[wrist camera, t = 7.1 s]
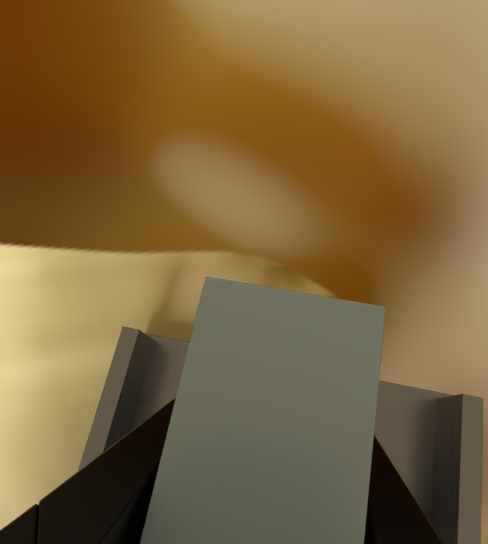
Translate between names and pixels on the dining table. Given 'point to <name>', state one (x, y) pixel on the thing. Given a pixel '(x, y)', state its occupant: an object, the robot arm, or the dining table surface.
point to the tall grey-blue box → (270, 421)
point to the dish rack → (388, 430)
